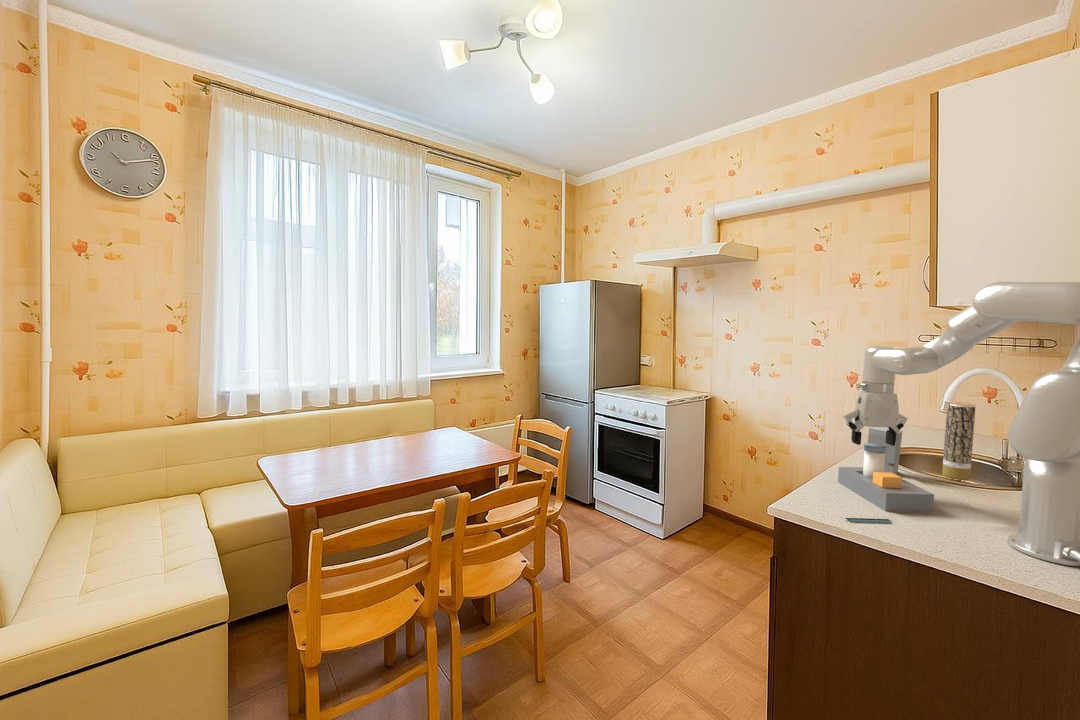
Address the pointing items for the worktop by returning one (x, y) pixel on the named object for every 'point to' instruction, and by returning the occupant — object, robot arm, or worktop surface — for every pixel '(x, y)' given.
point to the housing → (886, 492)
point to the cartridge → (873, 459)
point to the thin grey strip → (869, 520)
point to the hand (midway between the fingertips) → (873, 444)
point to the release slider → (887, 480)
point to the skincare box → (887, 447)
